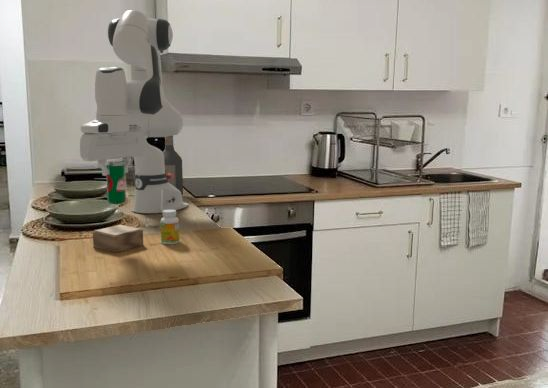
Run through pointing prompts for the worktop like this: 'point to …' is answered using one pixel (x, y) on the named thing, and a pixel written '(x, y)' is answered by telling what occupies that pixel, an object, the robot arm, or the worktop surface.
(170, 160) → the liquor
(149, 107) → the robot arm
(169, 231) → the supplement bottle
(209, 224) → the worktop surface
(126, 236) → the walnut block
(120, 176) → the soda can
